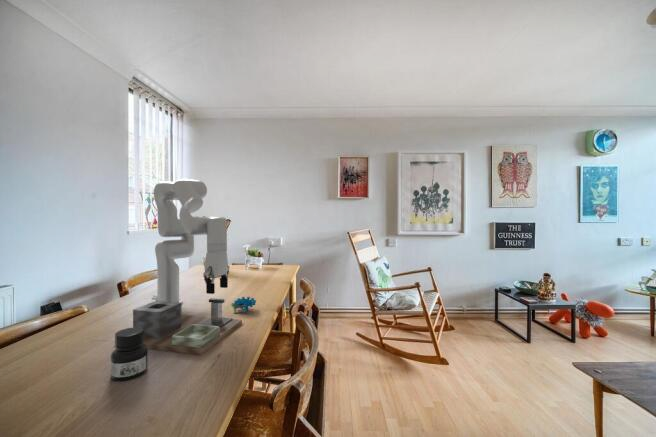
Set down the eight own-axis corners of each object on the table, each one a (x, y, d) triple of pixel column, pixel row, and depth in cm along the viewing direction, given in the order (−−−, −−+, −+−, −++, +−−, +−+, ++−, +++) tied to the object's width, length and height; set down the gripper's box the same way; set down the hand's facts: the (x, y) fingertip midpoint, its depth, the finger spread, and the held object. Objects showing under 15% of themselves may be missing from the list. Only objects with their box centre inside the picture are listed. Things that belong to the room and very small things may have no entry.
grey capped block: (207, 322, 121) (207, 299, 121) (211, 319, 124) (212, 297, 124) (221, 323, 120) (221, 300, 120) (225, 320, 123) (225, 298, 123)
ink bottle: (104, 384, 81) (104, 340, 81) (113, 368, 89) (113, 328, 89) (147, 377, 85) (146, 335, 84) (151, 362, 93) (151, 324, 92)
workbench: (114, 345, 104) (114, 313, 104) (171, 317, 132) (171, 292, 131) (201, 355, 98) (201, 321, 98) (241, 323, 126) (242, 297, 125)
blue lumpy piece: (257, 304, 146) (254, 293, 139) (257, 315, 142) (254, 305, 135) (234, 307, 145) (229, 297, 138) (233, 319, 141) (228, 309, 134)
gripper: (220, 245, 130) (220, 285, 131) (195, 250, 113) (195, 295, 114) (236, 245, 129) (236, 285, 129) (213, 250, 112) (213, 296, 112)
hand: (217, 290), depth 121 cm, fingers open, 9 cm apart
